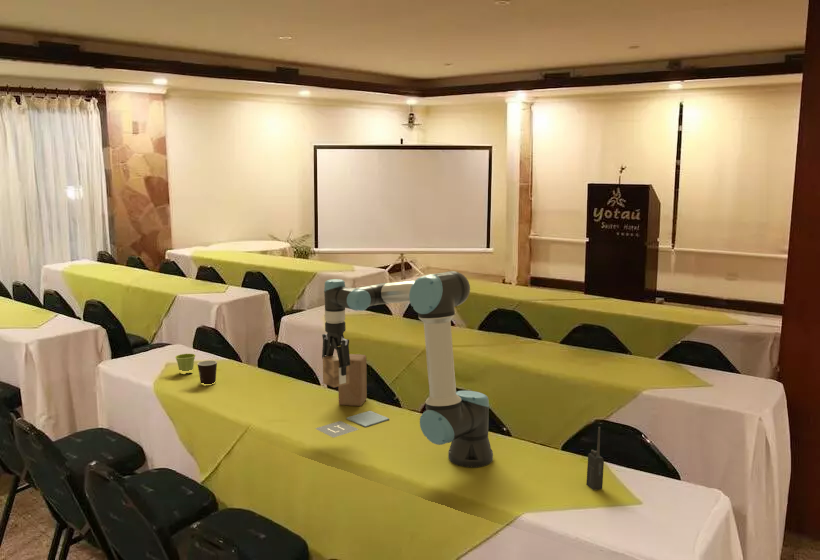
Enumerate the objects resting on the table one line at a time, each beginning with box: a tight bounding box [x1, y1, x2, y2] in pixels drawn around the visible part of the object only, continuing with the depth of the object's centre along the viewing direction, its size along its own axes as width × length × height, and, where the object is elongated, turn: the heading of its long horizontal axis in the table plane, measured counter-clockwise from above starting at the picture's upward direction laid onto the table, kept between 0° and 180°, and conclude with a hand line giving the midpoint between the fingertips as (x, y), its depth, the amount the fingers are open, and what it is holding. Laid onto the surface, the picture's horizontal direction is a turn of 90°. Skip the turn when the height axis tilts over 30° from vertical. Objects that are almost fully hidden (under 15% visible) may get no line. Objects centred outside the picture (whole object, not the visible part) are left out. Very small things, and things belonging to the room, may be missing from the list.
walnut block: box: [322, 353, 349, 388], centre depth 249 cm, size 7×7×10 cm
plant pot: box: [174, 353, 196, 371], centre depth 323 cm, size 9×9×9 cm
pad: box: [346, 410, 390, 428], centre depth 263 cm, size 12×12×1 cm
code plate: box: [314, 420, 360, 438], centre depth 253 cm, size 12×12×1 cm
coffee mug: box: [196, 359, 218, 384], centre depth 308 cm, size 12×9×10 cm
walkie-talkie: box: [585, 426, 605, 491], centre depth 205 cm, size 5×3×20 cm
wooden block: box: [337, 353, 368, 407], centre depth 281 cm, size 10×10×20 cm
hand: (336, 380), depth 250 cm, fingers closed on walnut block, 7 cm apart
